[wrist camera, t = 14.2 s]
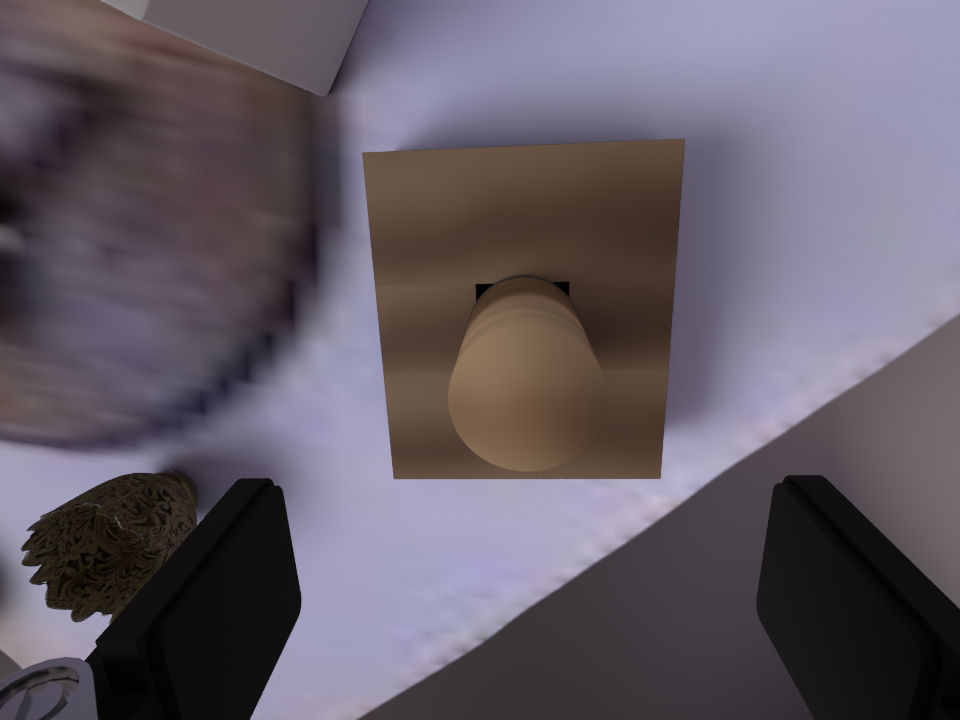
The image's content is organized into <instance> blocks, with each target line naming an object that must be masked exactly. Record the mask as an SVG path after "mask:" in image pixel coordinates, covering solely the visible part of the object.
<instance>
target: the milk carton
mask: <svg viewBox="0 0 960 720" xmlns="http://www.w3.org/2000/svg"><path fill="white" fill-rule="evenodd" d="M101 1H103V2H105V3H107V4H109V5H111V6H113V7H115V8H116V9H118V10H120V11H122V12H124V13H126V14H128V15H130V16H132V17H134V18H135V19H137V20H139V21H143V22H145V23H148V24H150V25H152V26H155V27H157V28H160V29H162V30H164V31H167V32H169V33H172V34H174V35H176V36H179V37H181V38H184V39H186V40H188V41H191V42H193V43H195V44H198V45H200V46H203V47H205V48H207V49H210V50H212V51H215V52H217V53H219V54H222V55H224V56H227V57H229V58H231V59H234V60H236V61H238V62H241V63H243V64H246V65H248V66H250V67H253V68H255V69H258V70H260V71H262V72H265V73H267V74H270V75H272V76H274V77H277V78H279V79H281V80H284V81H286V82H289V83H291V84H293V85H296V86H298V87H301V88H303V89H305V90H308V91H310V92H313V93H315V94H317V95H320V96H322V97H326V96H327V95H328V93H329V91H330V89H331V87H332V84H333V82H334V80H335V77H336V75H337V73H338V70H339V68H340V66H341V64H342V61H343V59H344V57H345V54H346V52H347V50H348V47H349V45H350V43H351V40H352V38H353V36H354V33H355V31H356V29H357V27H358V24H359V22H360V20H361V17H362V15H363V13H364V10H365V8H366V6H367V3H368V1H369V0H101Z"/></svg>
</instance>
